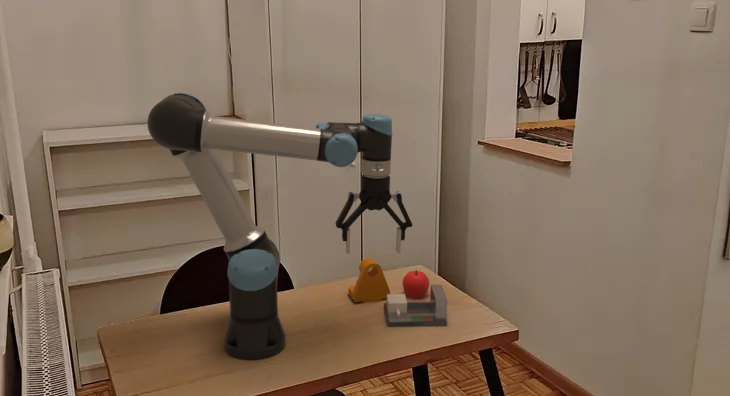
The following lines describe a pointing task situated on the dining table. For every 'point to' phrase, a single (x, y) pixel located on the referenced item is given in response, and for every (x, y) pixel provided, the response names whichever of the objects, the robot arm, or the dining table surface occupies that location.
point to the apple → (415, 284)
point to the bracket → (369, 283)
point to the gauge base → (422, 311)
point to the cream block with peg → (396, 304)
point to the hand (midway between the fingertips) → (373, 252)
